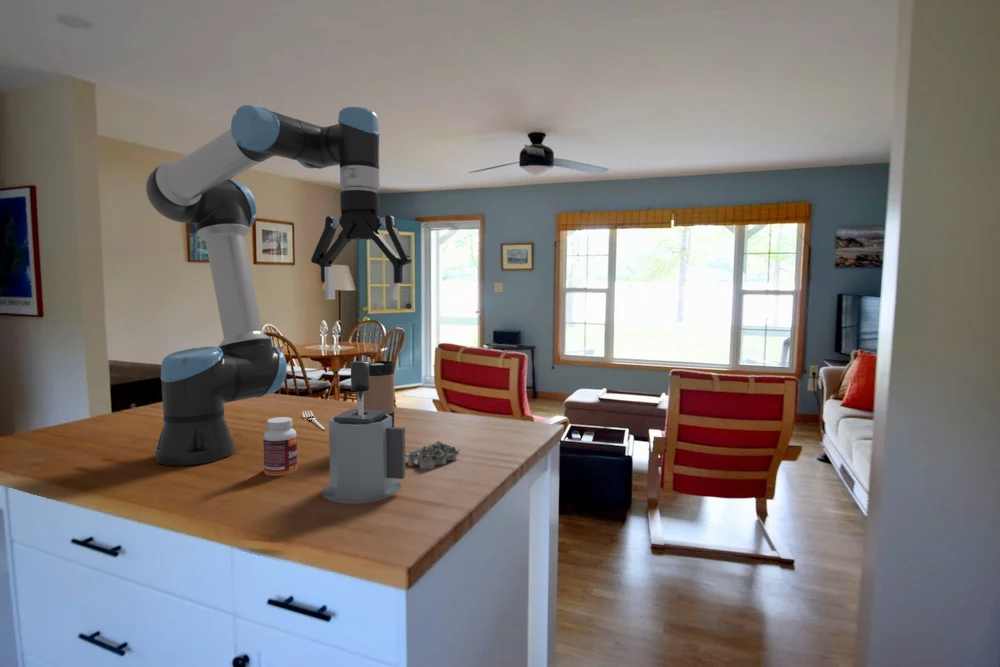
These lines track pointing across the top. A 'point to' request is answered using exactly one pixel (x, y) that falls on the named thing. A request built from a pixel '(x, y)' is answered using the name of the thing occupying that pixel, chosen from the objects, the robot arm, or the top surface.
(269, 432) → the pill bottle
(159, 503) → the top surface
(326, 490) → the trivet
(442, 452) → the egg carton
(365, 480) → the carafe
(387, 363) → the travel mug
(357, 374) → the plunger
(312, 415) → the fork
